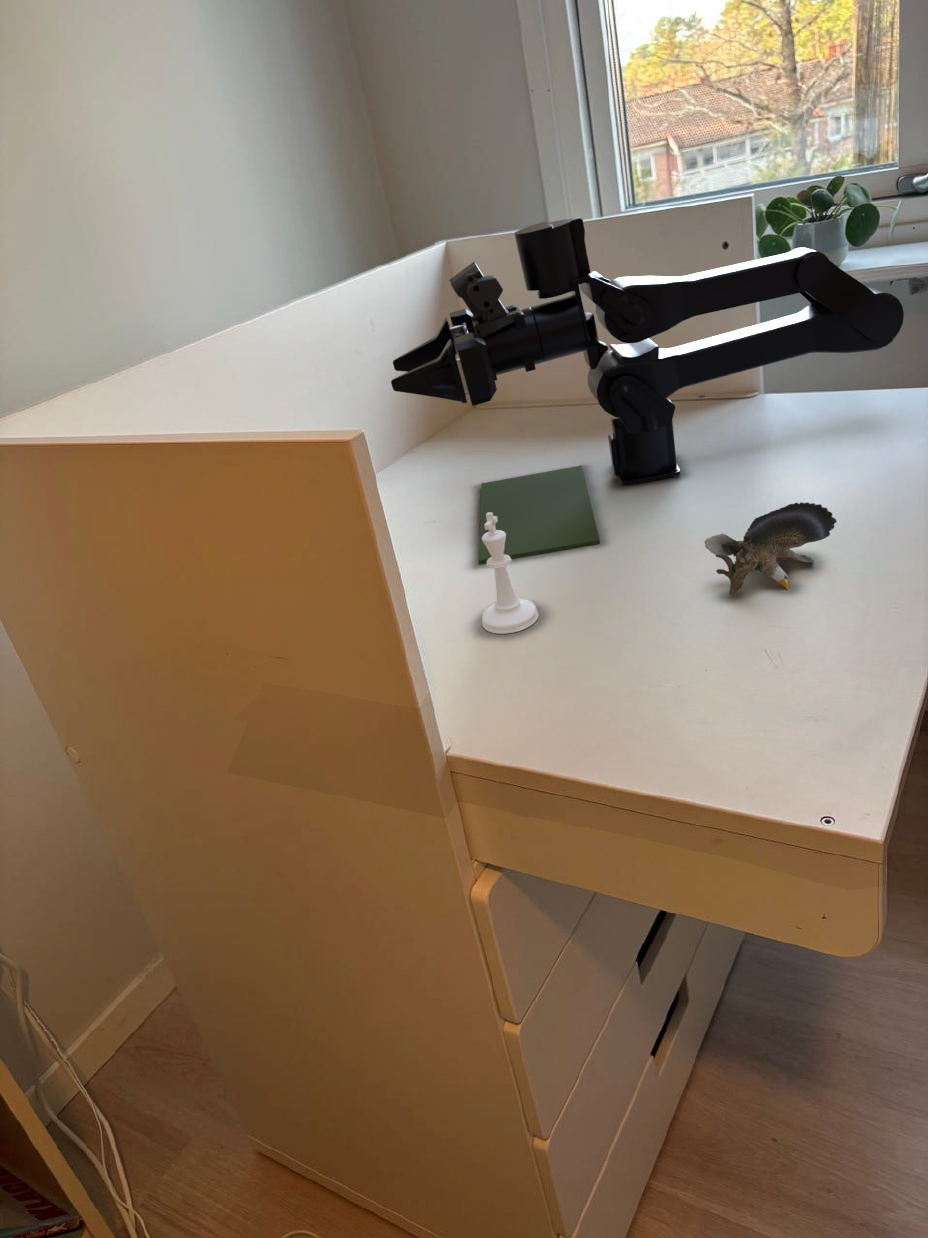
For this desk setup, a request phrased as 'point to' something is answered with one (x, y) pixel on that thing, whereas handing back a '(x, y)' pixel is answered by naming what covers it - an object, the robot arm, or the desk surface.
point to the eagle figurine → (771, 542)
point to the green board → (539, 513)
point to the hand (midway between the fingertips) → (392, 375)
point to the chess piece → (504, 588)
